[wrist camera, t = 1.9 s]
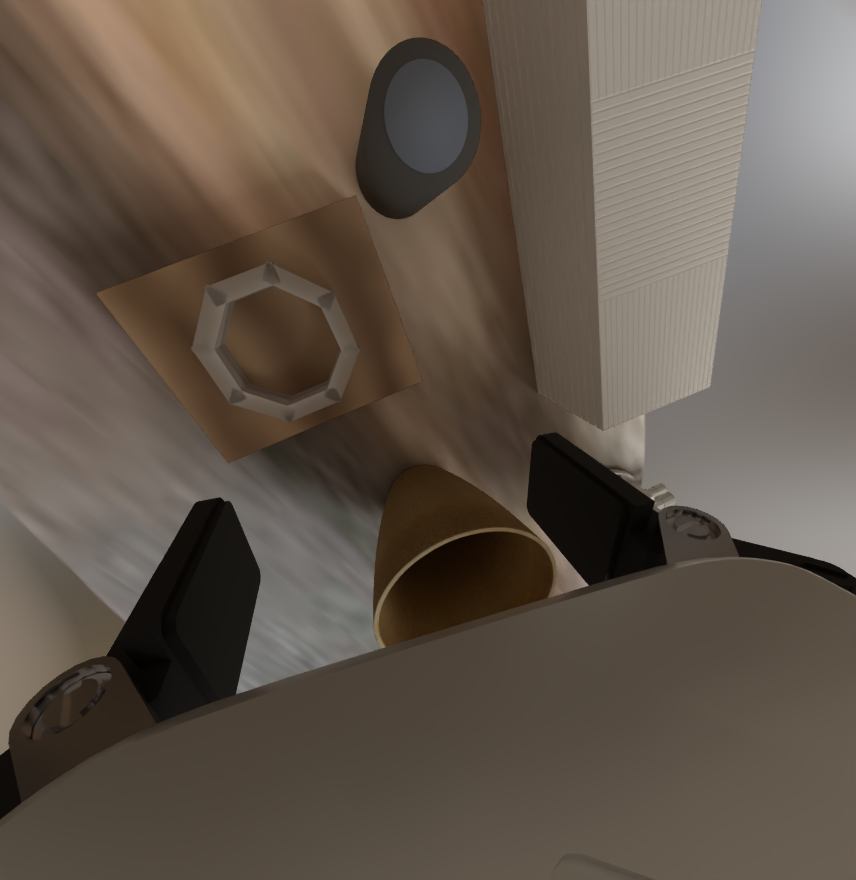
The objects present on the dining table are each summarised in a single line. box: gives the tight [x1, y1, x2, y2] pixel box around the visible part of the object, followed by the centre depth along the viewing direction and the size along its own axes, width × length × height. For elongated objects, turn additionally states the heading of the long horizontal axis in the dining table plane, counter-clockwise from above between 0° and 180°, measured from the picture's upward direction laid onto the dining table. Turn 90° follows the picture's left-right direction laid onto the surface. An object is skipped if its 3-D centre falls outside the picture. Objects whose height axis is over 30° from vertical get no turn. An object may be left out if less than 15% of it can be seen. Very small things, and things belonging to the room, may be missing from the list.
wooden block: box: [96, 195, 423, 463], centre depth 26 cm, size 18×14×6 cm
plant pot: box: [373, 465, 557, 649], centre depth 33 cm, size 15×15×16 cm
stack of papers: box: [483, 0, 762, 431], centre depth 26 cm, size 32×11×11 cm, turn 17°
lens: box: [356, 38, 481, 219], centre depth 22 cm, size 6×6×10 cm
